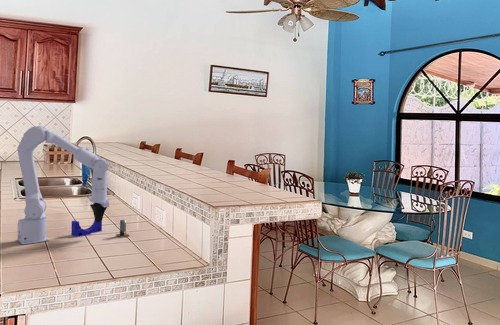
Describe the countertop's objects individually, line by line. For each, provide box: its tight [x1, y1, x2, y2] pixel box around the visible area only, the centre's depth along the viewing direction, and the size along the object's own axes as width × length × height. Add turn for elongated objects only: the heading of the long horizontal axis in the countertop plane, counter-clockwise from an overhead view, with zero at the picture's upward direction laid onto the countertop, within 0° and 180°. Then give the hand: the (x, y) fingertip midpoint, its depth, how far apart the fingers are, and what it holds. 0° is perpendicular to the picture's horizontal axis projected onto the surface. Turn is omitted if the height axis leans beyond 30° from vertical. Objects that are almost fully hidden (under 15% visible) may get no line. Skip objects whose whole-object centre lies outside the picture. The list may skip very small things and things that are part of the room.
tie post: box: [115, 219, 130, 239], centre depth 166 cm, size 4×4×7 cm
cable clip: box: [71, 219, 103, 238], centre depth 167 cm, size 12×4×6 cm, turn 143°
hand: (98, 221), depth 161 cm, fingers closed
